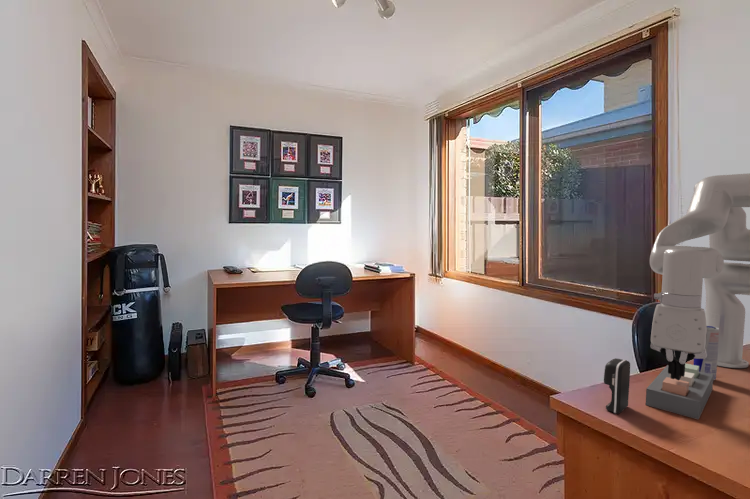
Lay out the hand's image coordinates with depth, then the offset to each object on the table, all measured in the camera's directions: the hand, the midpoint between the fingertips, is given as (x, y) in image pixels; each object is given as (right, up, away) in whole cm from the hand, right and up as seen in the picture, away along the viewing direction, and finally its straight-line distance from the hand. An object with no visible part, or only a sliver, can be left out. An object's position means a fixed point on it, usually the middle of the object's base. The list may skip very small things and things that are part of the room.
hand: (675, 377), depth 96 cm
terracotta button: (0, -4, 0) cm, 4 cm away
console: (+6, -7, +6) cm, 11 cm away
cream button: (+6, -4, +6) cm, 9 cm away
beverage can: (+21, -6, +18) cm, 29 cm away
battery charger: (-15, -7, -1) cm, 17 cm away
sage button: (+11, -4, +12) cm, 17 cm away
